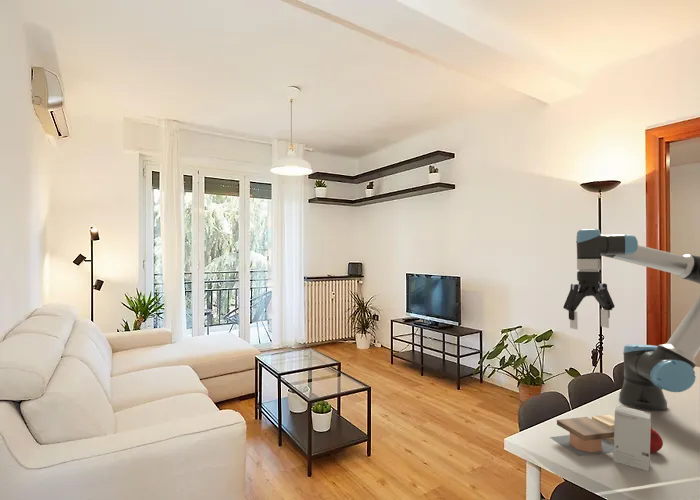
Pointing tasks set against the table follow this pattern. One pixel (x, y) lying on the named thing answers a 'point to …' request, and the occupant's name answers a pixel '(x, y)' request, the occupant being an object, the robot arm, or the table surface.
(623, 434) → the skincare box
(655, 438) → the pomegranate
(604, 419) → the light wooden block
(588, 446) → the bowl
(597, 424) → the board
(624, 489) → the table surface
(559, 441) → the placemat
